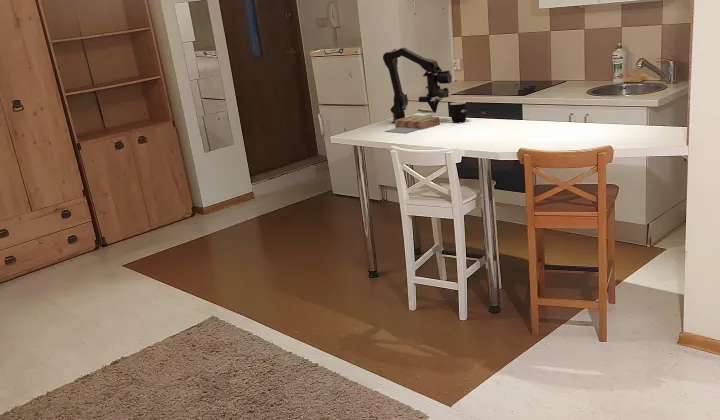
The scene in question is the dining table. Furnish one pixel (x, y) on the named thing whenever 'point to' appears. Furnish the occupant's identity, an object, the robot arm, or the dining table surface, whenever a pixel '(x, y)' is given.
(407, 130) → the mat
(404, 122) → the brown wooden flat block
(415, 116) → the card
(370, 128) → the dining table surface
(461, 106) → the mug
